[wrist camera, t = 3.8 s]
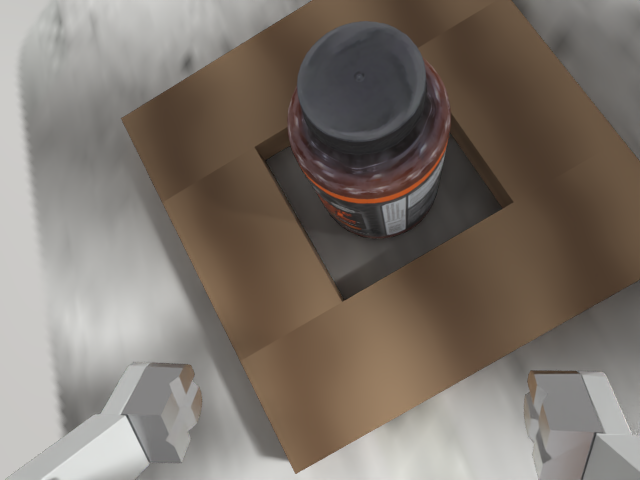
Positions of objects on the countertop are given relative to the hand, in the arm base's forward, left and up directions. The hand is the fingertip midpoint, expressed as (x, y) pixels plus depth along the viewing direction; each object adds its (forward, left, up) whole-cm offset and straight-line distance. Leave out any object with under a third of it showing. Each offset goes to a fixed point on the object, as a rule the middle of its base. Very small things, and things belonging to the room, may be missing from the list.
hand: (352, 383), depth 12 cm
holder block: (-4, -8, -13) cm, 16 cm away
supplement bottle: (-4, -8, -13) cm, 16 cm away
